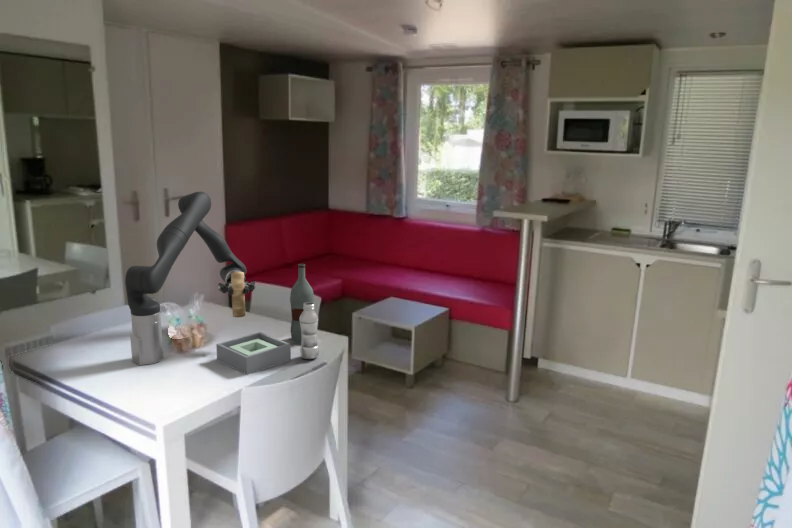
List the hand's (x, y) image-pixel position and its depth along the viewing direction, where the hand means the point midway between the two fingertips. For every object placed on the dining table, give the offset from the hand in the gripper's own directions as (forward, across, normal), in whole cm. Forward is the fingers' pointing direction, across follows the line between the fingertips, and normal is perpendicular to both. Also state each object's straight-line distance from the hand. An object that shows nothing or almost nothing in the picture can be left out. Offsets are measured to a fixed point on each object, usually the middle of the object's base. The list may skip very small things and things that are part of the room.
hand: (238, 292), depth 203 cm
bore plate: (+12, +4, +22) cm, 25 cm away
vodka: (-4, +23, +22) cm, 32 cm away
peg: (-3, 0, +10) cm, 10 cm away
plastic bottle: (+15, +23, +22) cm, 35 cm away
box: (+12, +4, +22) cm, 25 cm away
